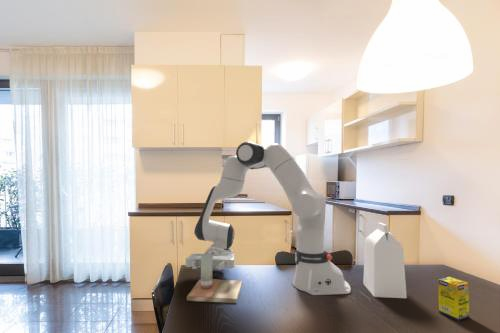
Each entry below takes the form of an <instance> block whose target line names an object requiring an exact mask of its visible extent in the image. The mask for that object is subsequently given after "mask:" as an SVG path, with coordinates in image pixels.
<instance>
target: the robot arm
mask: <svg viewBox="0 0 500 333" xmlns="http://www.w3.org/2000/svg"><path fill="white" fill-rule="evenodd" d="M235 152H236V153H235V155H229V156H228V157H227V158H226V161H225V162H224V166H223V169H222V171H221V177H220V179H219V182H218V183H217V185H215V186H212V188H211V189H210V192H209V193H208V195H207V198H206V200H205V203H204V205H203V208H202V211H201V214H200V215H199V218H198V221H197V223H196V224H195V226H194V233H193V234H194V235H195V237H196V239H197V240H199V241H204V242H205V241H208V242H210V243H211V242H212V244H211V245H210V246H209V247H208V248H207V249H206V250H205V251H204V253H192V254H189V255H188V256H186V257H185V267H186V268H192V270H197V269H198V268H201V255H204V254H211V255H213V266H212V269H215V270H217V271H220V270H222V269H234V268H235V266H236V265H235V264H236V262H235V260H236V258H235V256H236V255H235V252H234V251H235V250H234V249H230V248H231V247H232V245H233V244H234V239H235V229H234V227H233V225H232V224H231V223H228V222H223V221H216V220H212V219H210V218H211V214H212V212H213V209H214V206H215V204H216V203H217V202H218V201H220V200H224V199H231V198H235V197H237V196H239V195H240V194H241V192H242V191H243V189H244V184H245V179H246V174H247V172H248V170H258V169H262V168H264V167H268V168H269V169H270V171H271V173H272V174H273V176H274V177H275V179H276V180H277V181H278V183H279V184H280V186H281V187H282V190H283V191H284V192H285V195H286V197H287V199H288V201H289V203H290V205H291V209H292V211H293V213H294V214H295V215H296V216H297V217H298V224H297V228H296V249H295V254H294V255H295V256H294V258H295V261H294V262H295V273H294V277H293V280H292V281H293V282H292V285H293V286H294V288H296V289H298V290H300V291H303V292H305V293H308V294H309V295H311V296H327V295H347V294H350V293H351V292H352V289H351V286H350V284H349V282H347V281H346V280H345V278H344V277H345V276H344V274H343V272H342V270H341V269H340V268H339V267H338V266H336V265H335V264H334V263H333V262H331V261H332V259H333V256H332V254H331V253H329V252H328V251H326V250H325V226H326V225H325V224H326V205H327V204H326V203H327V201H326V198H325V195H324V194H323V193H322V192H321V191H319V190H317V189H314V188H313V187H312V185H311V184H310V181H309V180H308V178H307V176H306V174H305V173H304V171H303V169H302V168H301V167H300V165H299V164H298V163H297V161H296V159H294V157H293V156H292V155H291V154H290V152H289V151H288V150H287V149H286V148H285V147H284V146H282V145H281V144H280V143H272V144H270V145H269V146H267V147H264V146H262V145H260V144H259V143H255V142H253V141H245V142H244V141H243V142H242V143H240V144H239V145H238V147H237V148H236V150H235Z"/></svg>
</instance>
